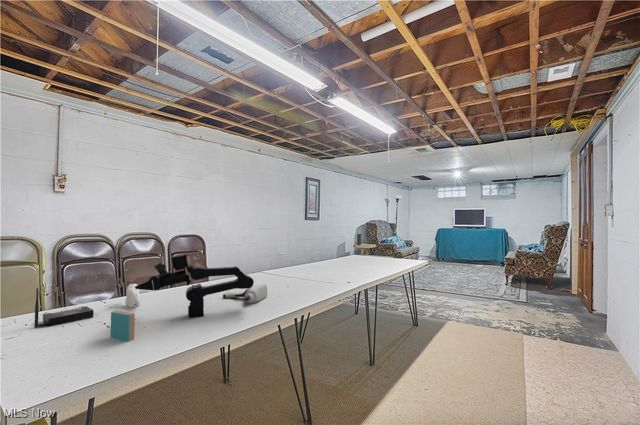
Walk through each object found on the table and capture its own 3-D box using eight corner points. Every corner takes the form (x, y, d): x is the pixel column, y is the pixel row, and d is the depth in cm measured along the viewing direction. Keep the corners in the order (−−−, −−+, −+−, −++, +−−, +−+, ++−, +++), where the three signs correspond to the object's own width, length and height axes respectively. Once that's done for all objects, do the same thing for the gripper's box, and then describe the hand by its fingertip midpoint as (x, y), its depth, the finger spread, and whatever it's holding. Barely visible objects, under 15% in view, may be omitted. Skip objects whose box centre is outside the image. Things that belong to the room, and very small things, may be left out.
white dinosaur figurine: (135, 299, 172) (136, 279, 171) (147, 312, 155) (148, 291, 154) (121, 301, 167) (122, 281, 166) (132, 315, 150) (133, 293, 149)
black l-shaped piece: (84, 313, 149) (85, 278, 150) (94, 319, 141) (95, 282, 142) (29, 324, 134) (30, 285, 134) (36, 331, 125) (38, 289, 126)
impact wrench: (209, 299, 165) (251, 290, 161) (228, 290, 188) (266, 282, 184) (212, 314, 165) (255, 305, 161) (231, 303, 187) (269, 295, 183)
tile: (116, 335, 120) (117, 310, 121) (134, 339, 117) (134, 313, 117) (110, 337, 118) (111, 312, 118) (128, 341, 114) (128, 315, 115)
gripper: (172, 261, 152) (136, 269, 145) (170, 260, 135) (130, 269, 128) (176, 283, 151) (140, 292, 144) (175, 285, 134) (134, 295, 127)
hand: (136, 287), depth 136 cm, fingers open, 9 cm apart
